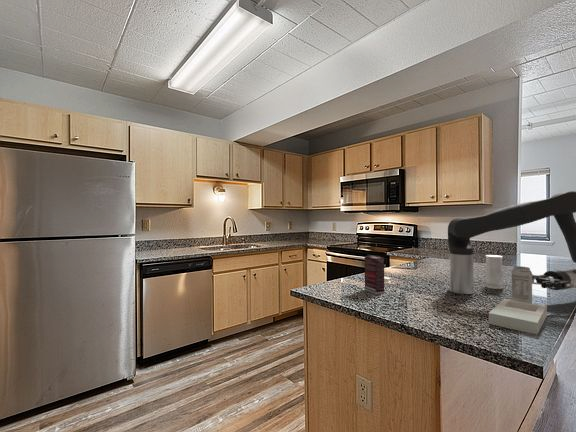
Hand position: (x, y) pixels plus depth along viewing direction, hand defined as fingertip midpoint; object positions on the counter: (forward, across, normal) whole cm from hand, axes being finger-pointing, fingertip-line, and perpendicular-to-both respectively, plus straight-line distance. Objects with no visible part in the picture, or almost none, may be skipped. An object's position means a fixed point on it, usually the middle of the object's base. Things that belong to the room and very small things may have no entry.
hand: (530, 282), depth 112 cm
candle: (-13, -26, +9) cm, 30 cm away
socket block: (+19, +10, +9) cm, 23 cm away
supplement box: (+45, -36, +9) cm, 58 cm away
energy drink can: (+4, 0, +9) cm, 10 cm away
